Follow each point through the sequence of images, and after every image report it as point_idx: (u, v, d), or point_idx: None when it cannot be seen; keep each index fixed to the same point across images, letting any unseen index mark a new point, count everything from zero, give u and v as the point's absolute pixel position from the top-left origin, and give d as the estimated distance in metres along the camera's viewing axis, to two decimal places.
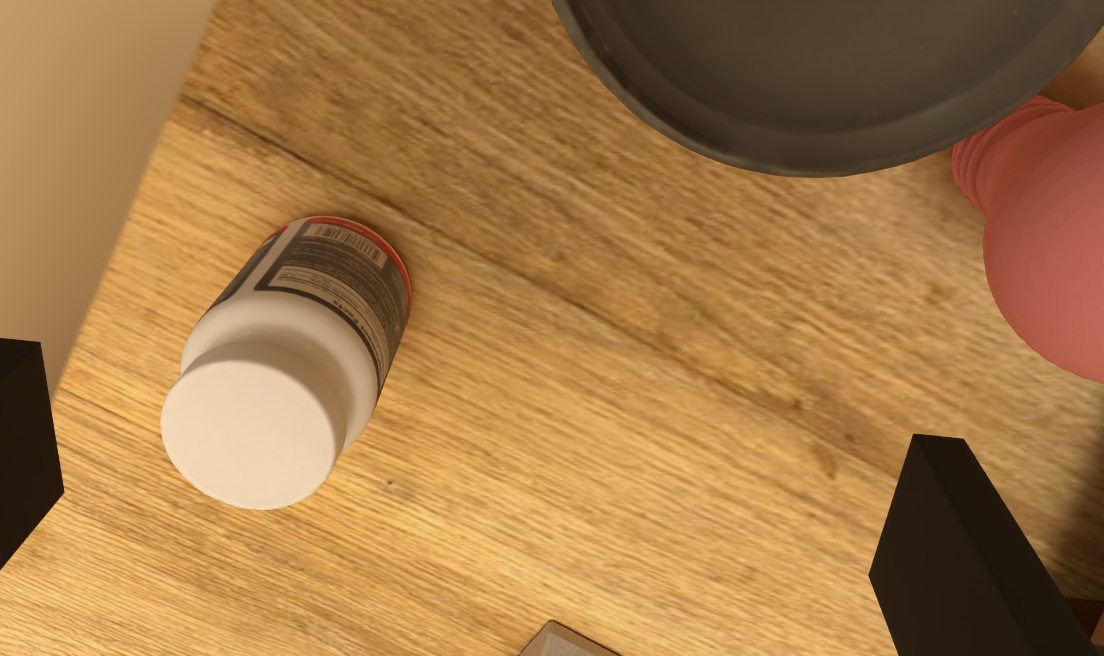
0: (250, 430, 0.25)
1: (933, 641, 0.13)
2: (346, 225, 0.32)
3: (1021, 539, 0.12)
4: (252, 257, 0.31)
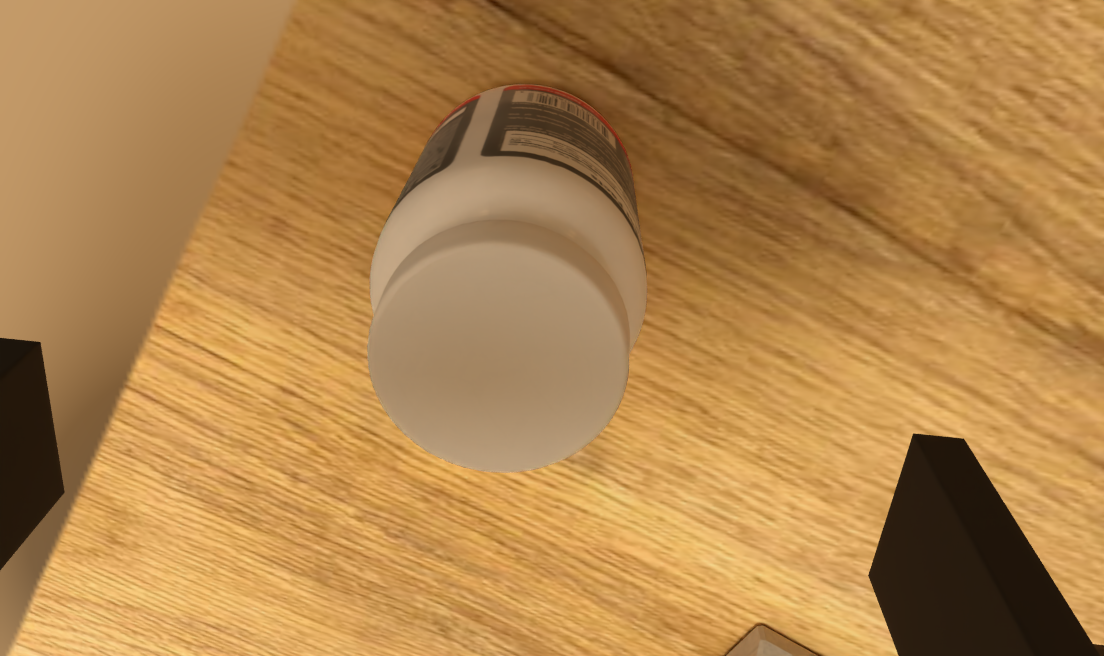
0: (503, 352, 0.17)
1: (933, 641, 0.13)
2: (560, 94, 0.24)
3: (1021, 539, 0.12)
4: (442, 131, 0.22)
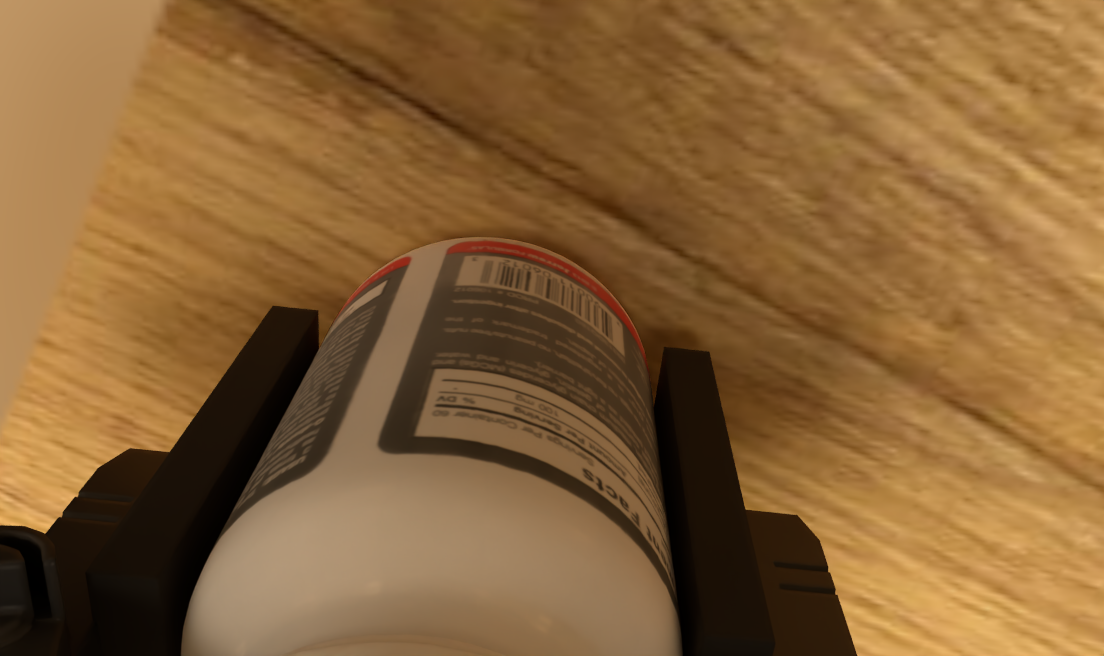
0: None
1: None
2: (536, 259, 0.15)
3: (720, 426, 0.14)
4: (342, 333, 0.14)
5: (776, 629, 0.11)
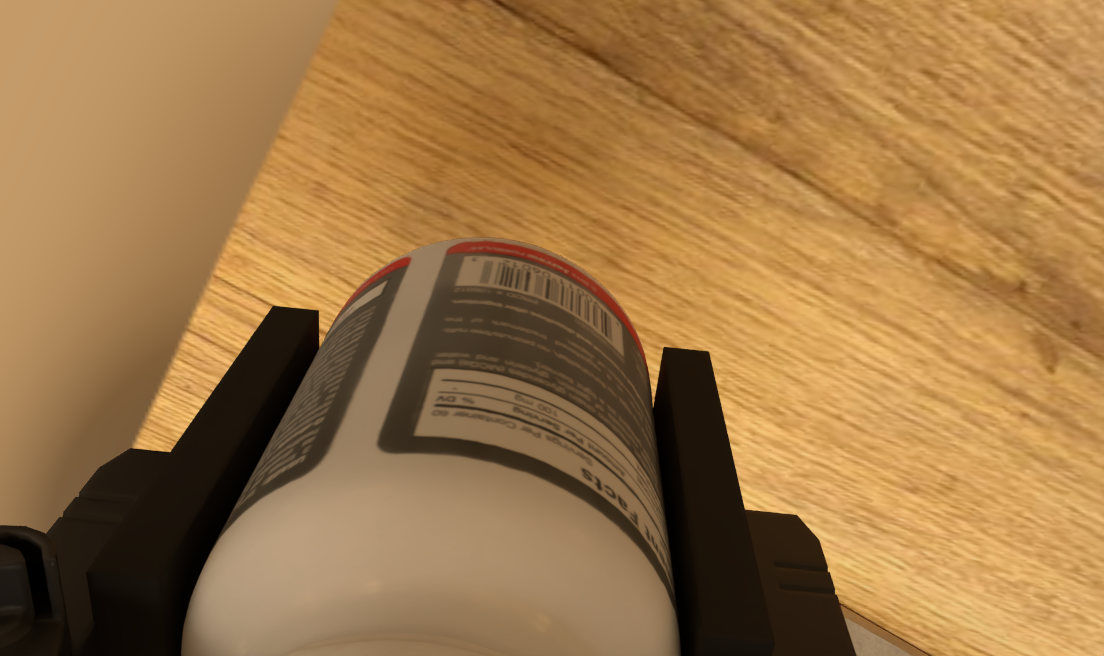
0: None
1: None
2: (535, 259, 0.15)
3: (720, 426, 0.14)
4: (343, 333, 0.14)
5: (775, 629, 0.11)
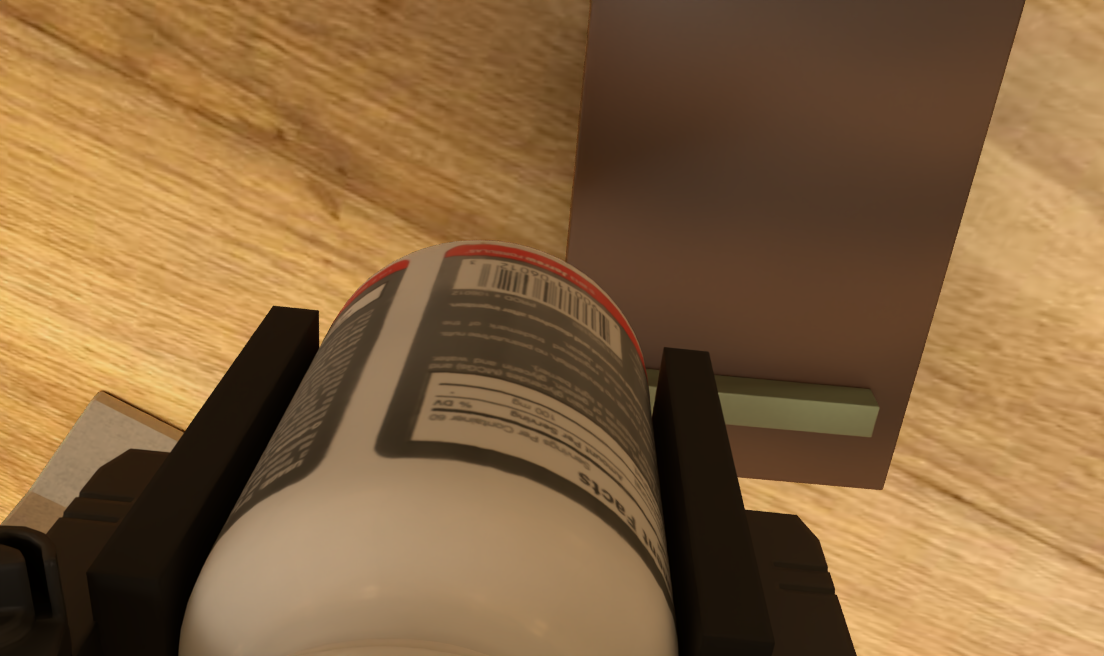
0: None
1: None
2: (534, 263, 0.15)
3: (720, 426, 0.14)
4: (340, 336, 0.14)
5: (776, 629, 0.11)
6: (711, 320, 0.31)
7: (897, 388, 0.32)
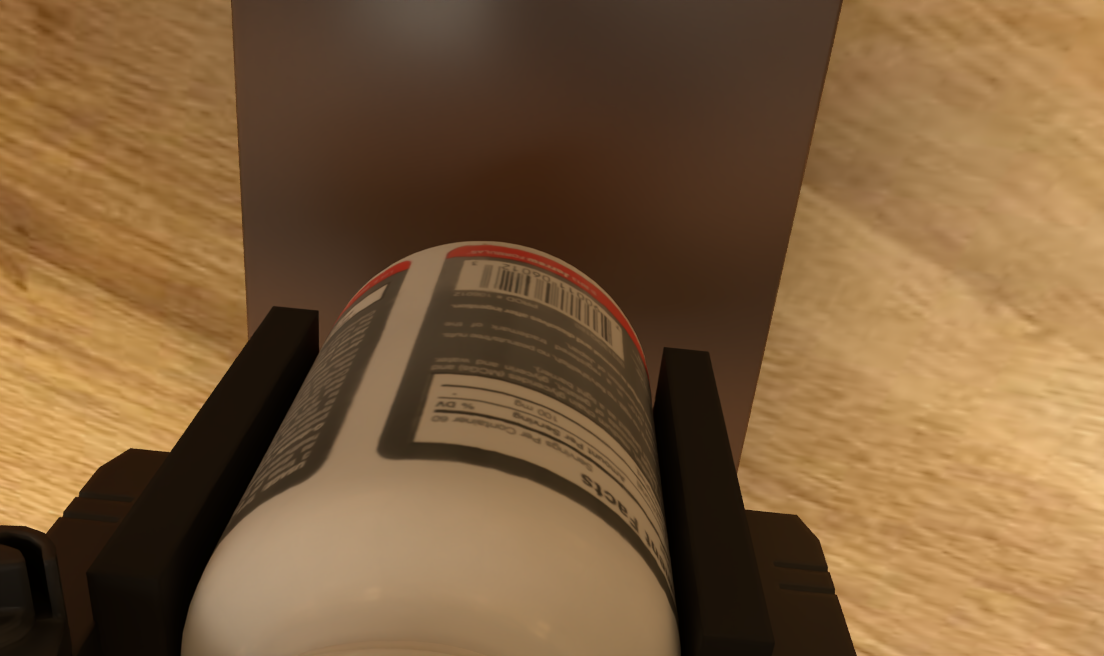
0: None
1: None
2: (535, 263, 0.15)
3: (720, 426, 0.14)
4: (342, 337, 0.14)
5: (776, 629, 0.11)
6: None
7: None
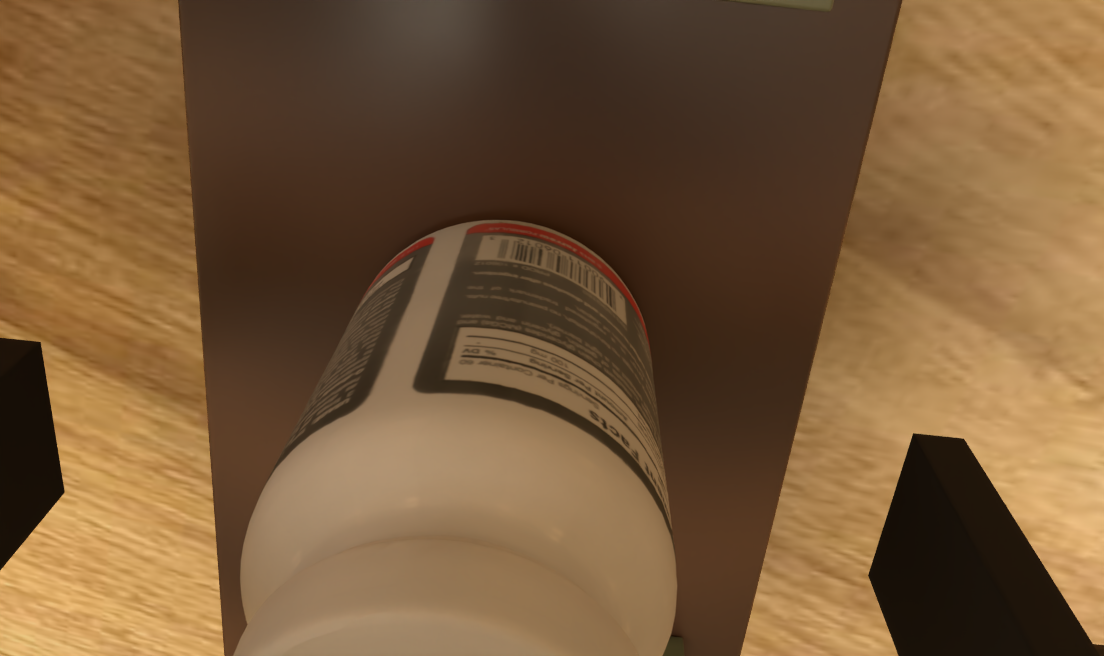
0: None
1: (933, 641, 0.13)
2: (547, 239, 0.17)
3: (1021, 539, 0.12)
4: (374, 302, 0.15)
5: None
6: None
7: (722, 637, 0.22)
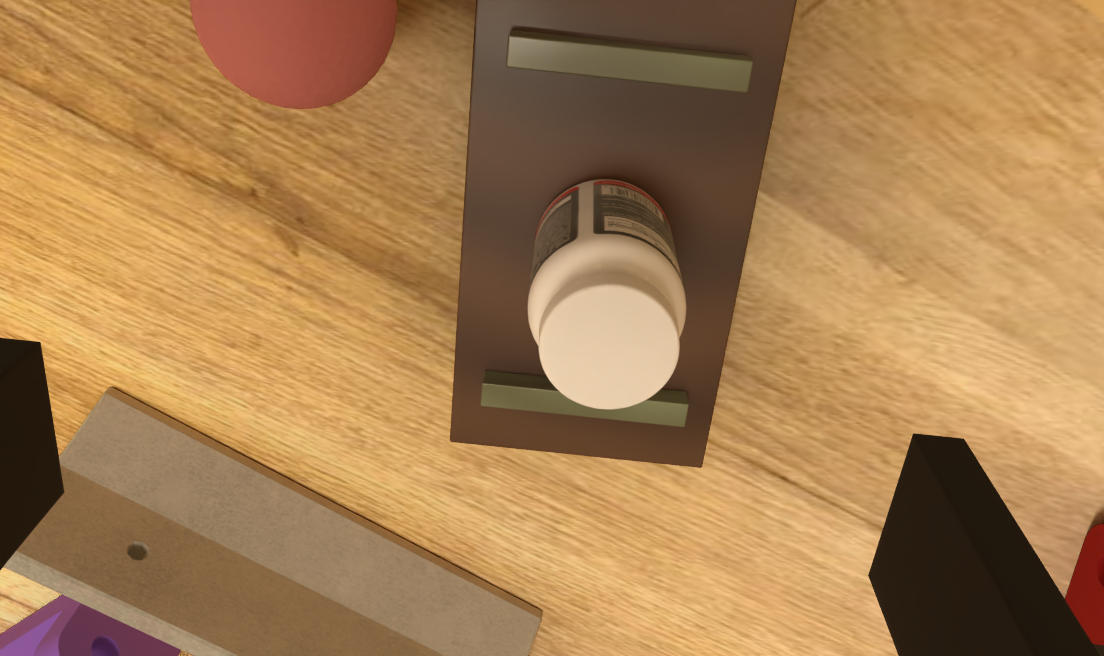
0: (612, 342, 0.31)
1: (933, 641, 0.13)
2: (628, 187, 0.38)
3: (1021, 539, 0.12)
4: (559, 212, 0.37)
5: None
6: None
7: (706, 391, 0.43)
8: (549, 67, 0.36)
